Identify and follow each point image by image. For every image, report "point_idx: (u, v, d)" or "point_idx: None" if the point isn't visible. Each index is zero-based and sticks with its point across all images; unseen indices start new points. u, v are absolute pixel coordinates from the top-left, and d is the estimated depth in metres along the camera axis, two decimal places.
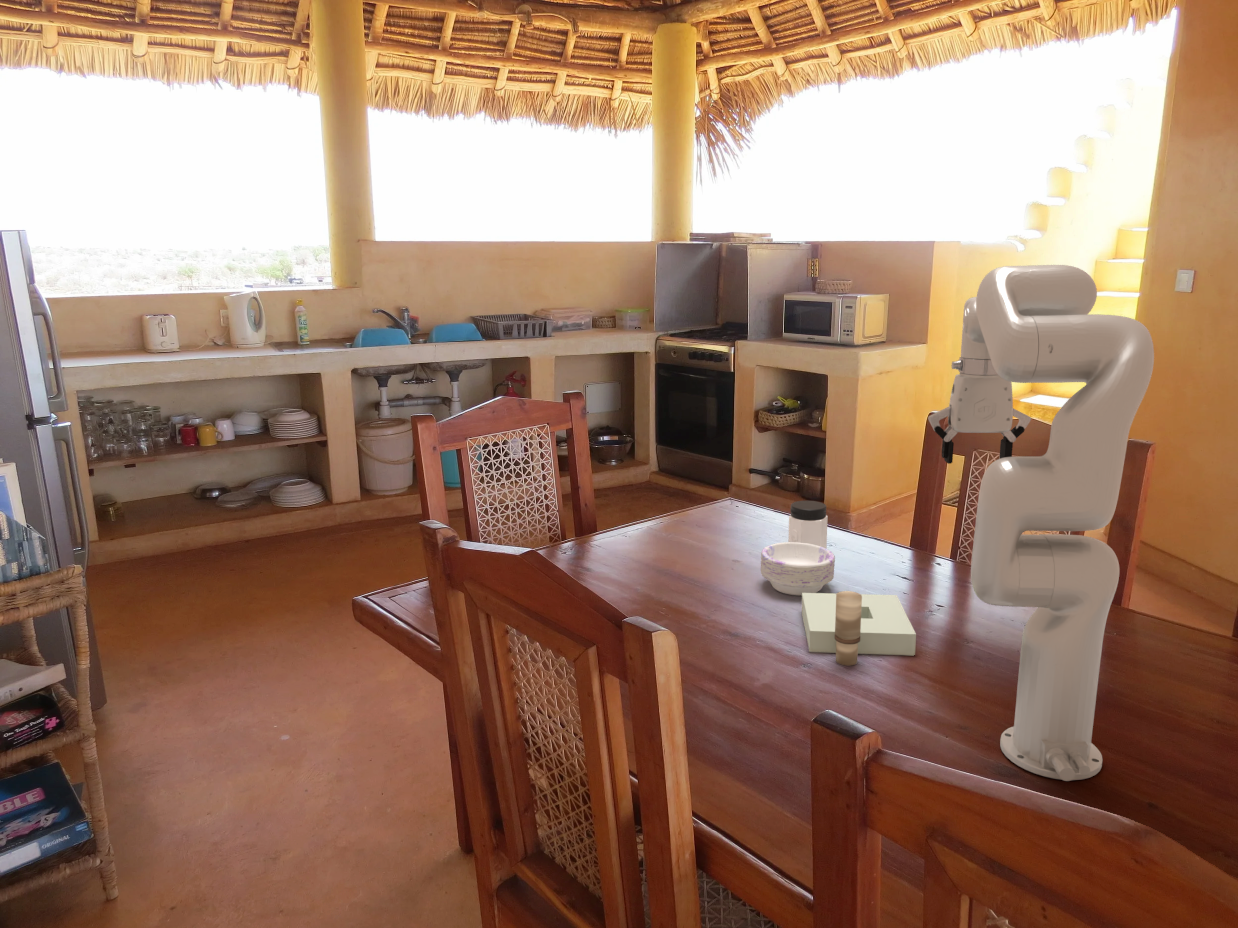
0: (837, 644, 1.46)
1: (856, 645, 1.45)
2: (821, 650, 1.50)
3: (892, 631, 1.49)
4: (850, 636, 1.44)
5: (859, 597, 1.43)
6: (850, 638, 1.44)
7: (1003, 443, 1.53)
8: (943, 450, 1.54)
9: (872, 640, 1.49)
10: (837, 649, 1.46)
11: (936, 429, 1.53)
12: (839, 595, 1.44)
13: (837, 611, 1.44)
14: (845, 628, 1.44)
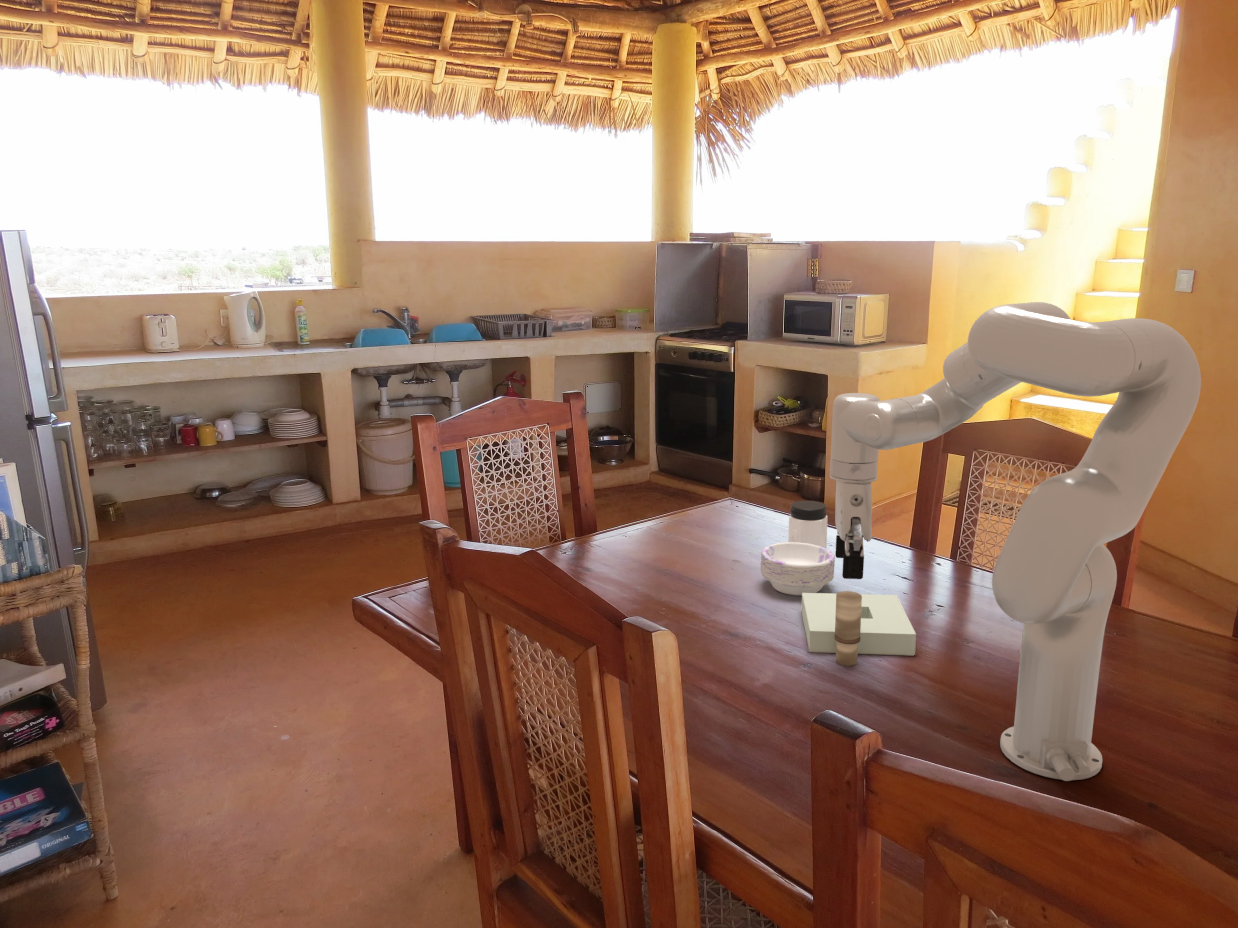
0: (837, 644, 1.46)
1: (856, 645, 1.45)
2: (821, 650, 1.50)
3: (892, 631, 1.49)
4: (850, 636, 1.44)
5: (859, 597, 1.43)
6: (850, 638, 1.44)
7: None
8: (855, 567, 1.37)
9: (872, 640, 1.49)
10: (837, 649, 1.46)
11: (862, 547, 1.35)
12: (839, 595, 1.44)
13: (837, 611, 1.44)
14: (845, 628, 1.44)
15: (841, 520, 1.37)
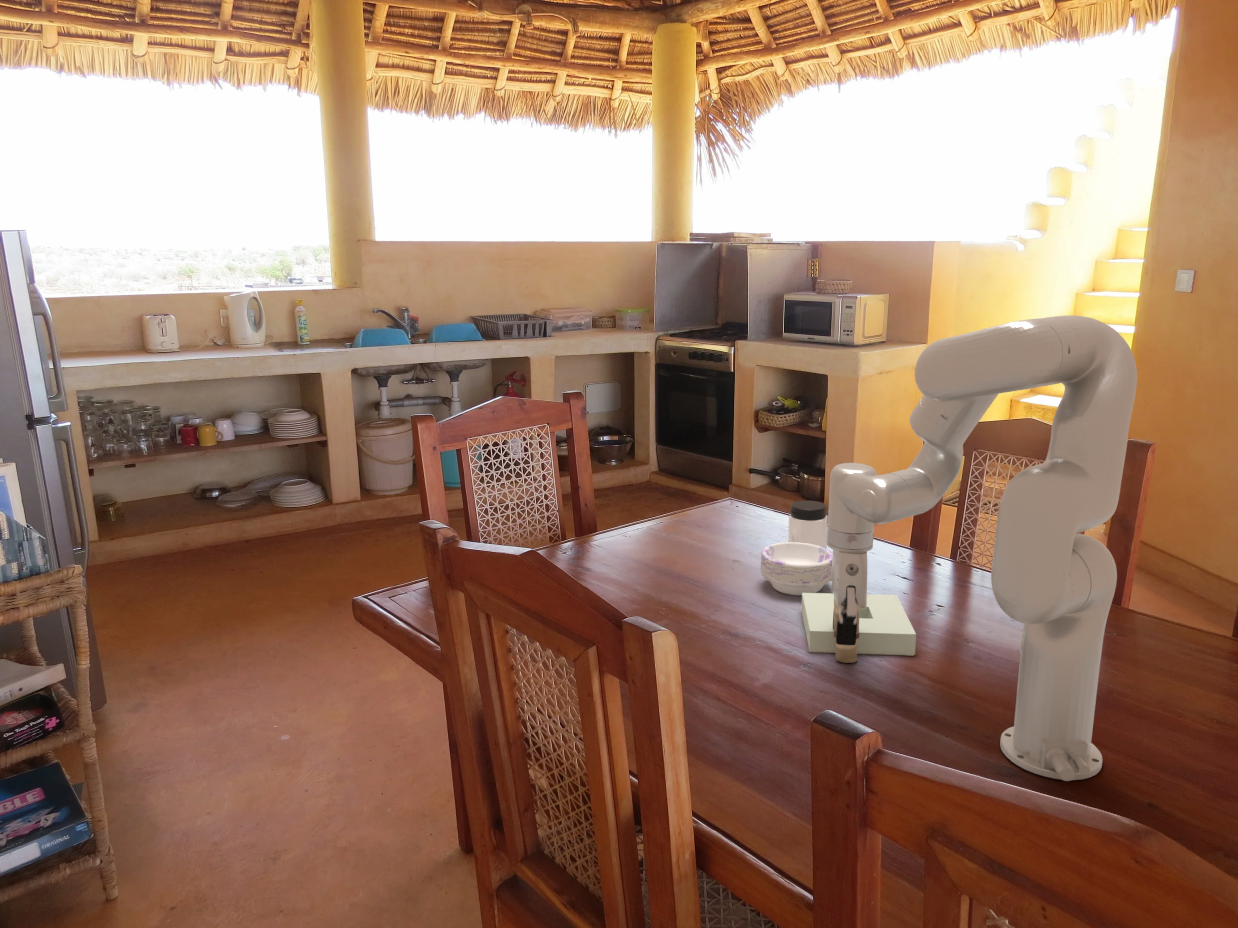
0: None
1: None
2: (821, 650, 1.50)
3: (892, 631, 1.49)
4: None
5: None
6: None
7: None
8: (848, 634, 1.43)
9: (872, 640, 1.49)
10: (836, 646, 1.46)
11: (855, 616, 1.40)
12: None
13: (835, 607, 1.46)
14: None
15: (837, 588, 1.41)
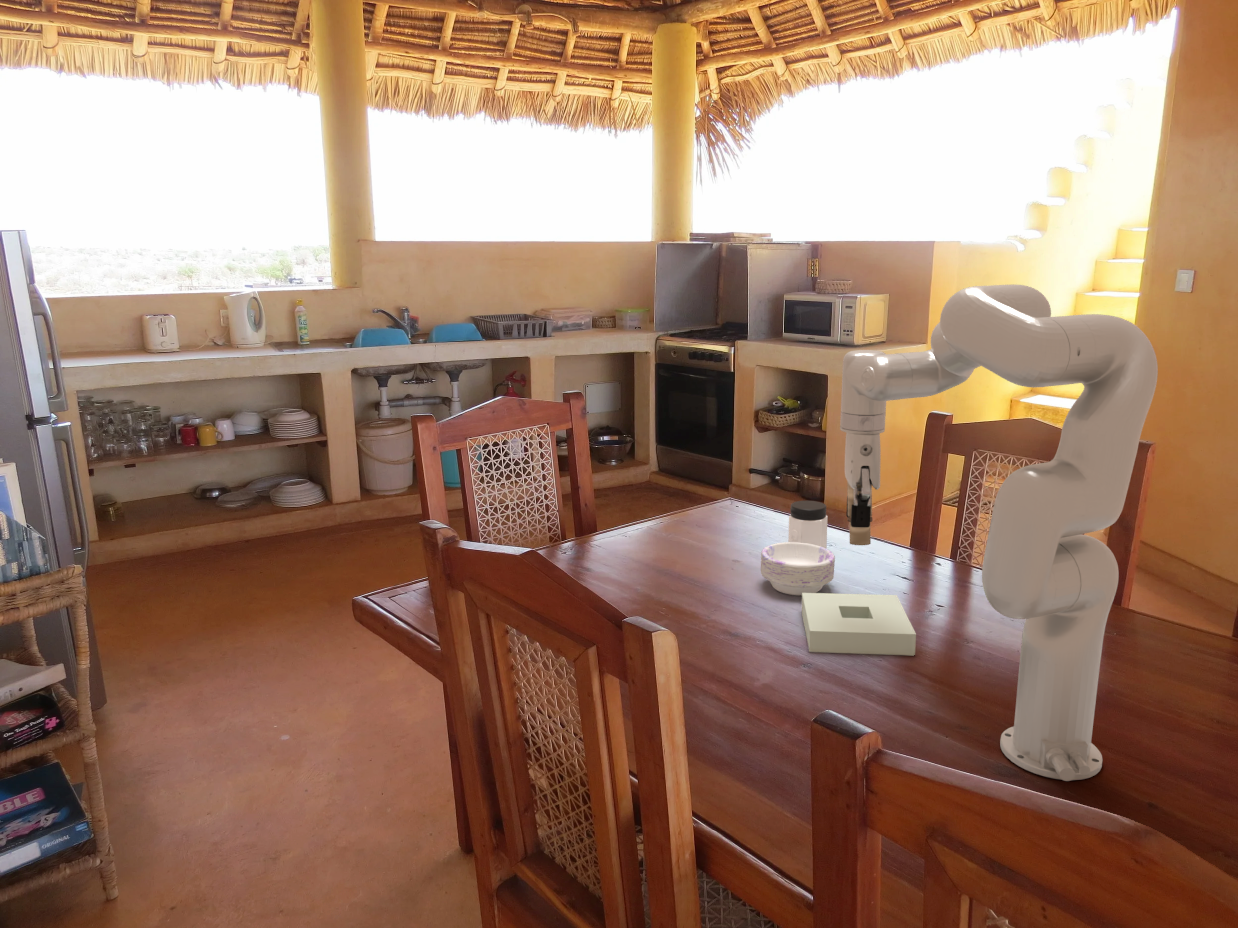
0: (850, 526, 1.52)
1: None
2: (821, 650, 1.50)
3: (892, 631, 1.49)
4: None
5: None
6: None
7: None
8: (863, 516, 1.48)
9: (872, 640, 1.49)
10: (850, 531, 1.52)
11: (869, 496, 1.46)
12: None
13: (849, 492, 1.51)
14: None
15: (851, 469, 1.46)
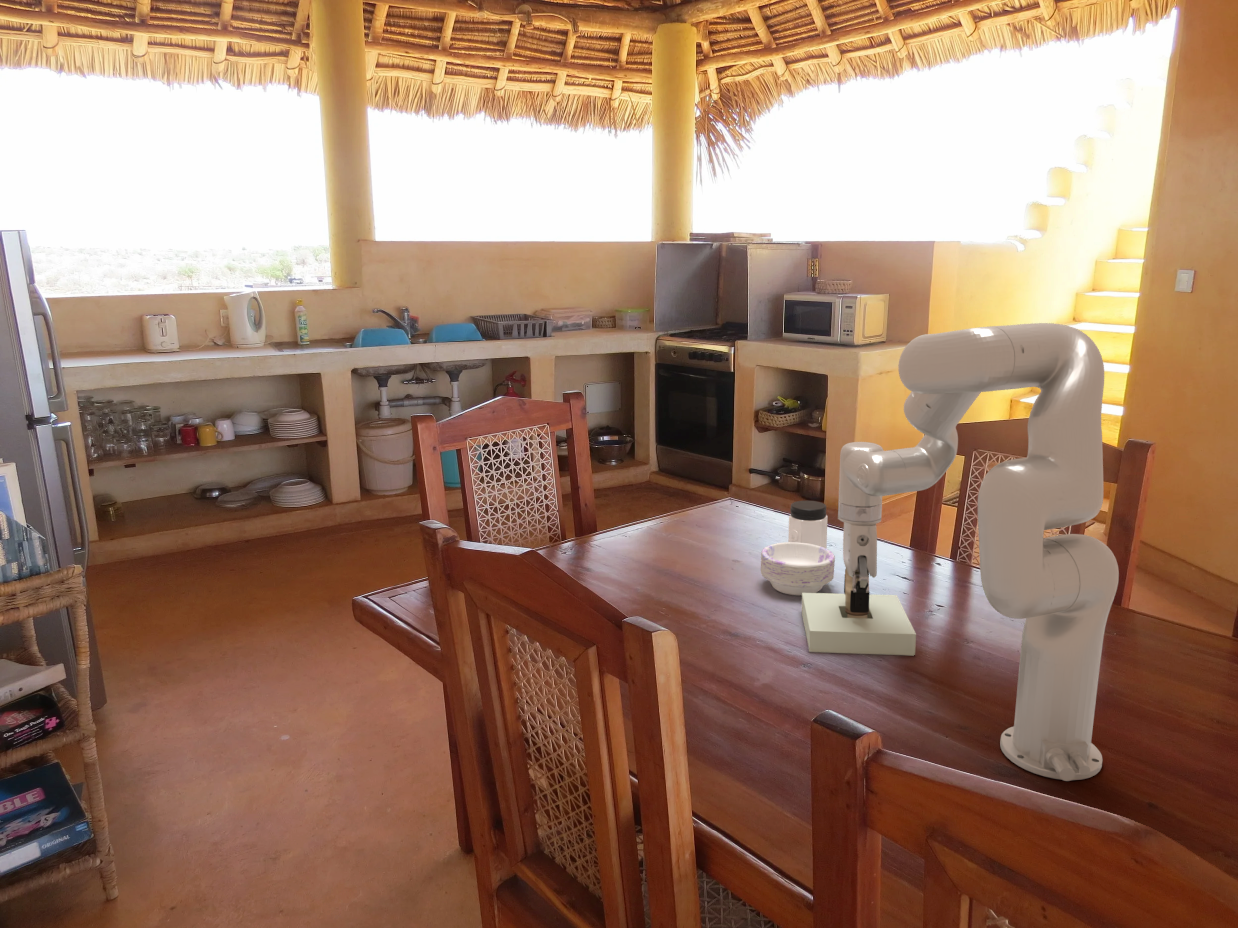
0: (848, 617, 1.57)
1: (866, 617, 1.56)
2: (821, 650, 1.50)
3: (892, 631, 1.49)
4: None
5: None
6: None
7: None
8: (861, 602, 1.51)
9: (872, 640, 1.49)
10: None
11: (867, 584, 1.49)
12: None
13: (846, 585, 1.56)
14: None
15: (849, 558, 1.51)
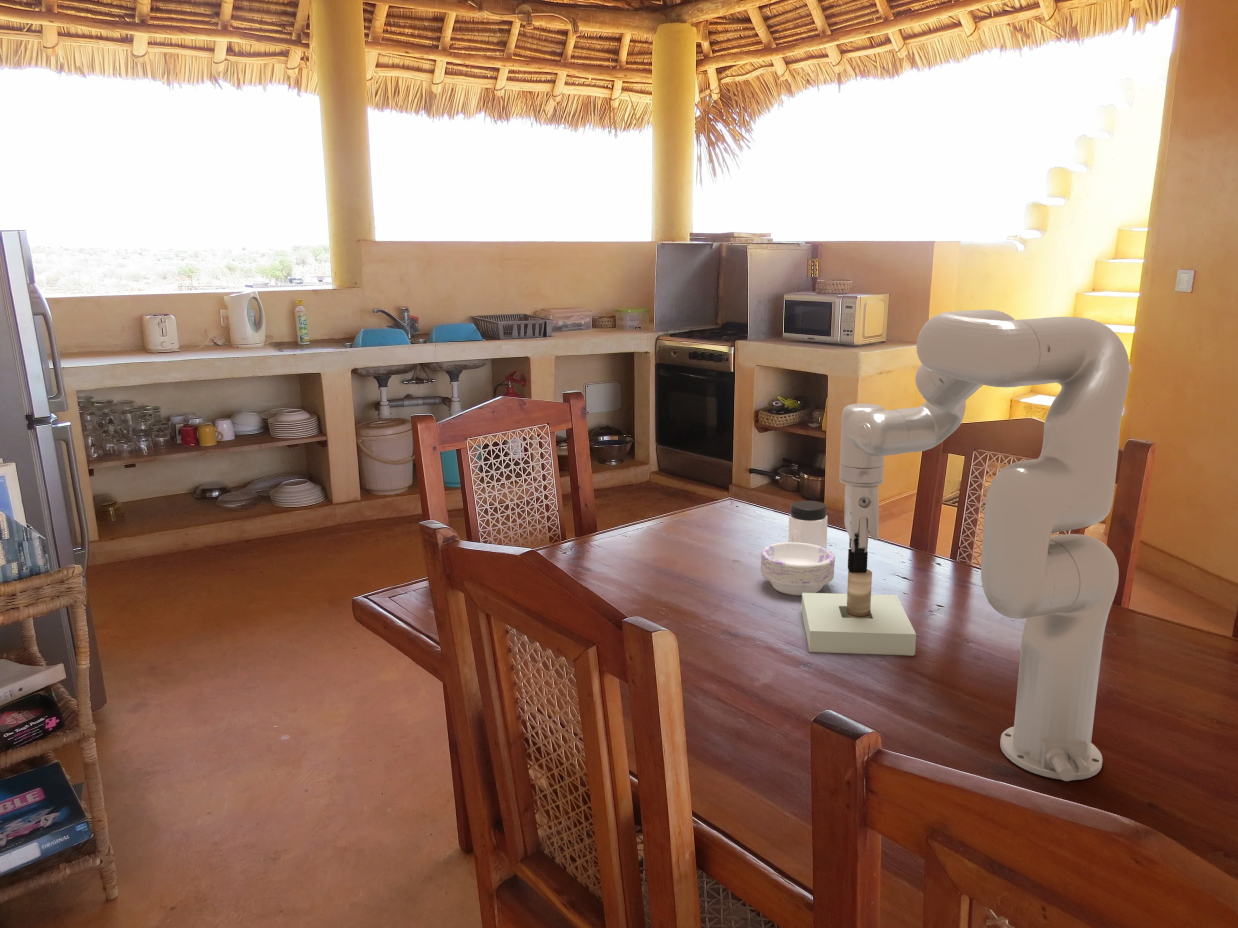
0: (849, 617, 1.57)
1: None
2: (821, 650, 1.50)
3: (892, 631, 1.49)
4: (861, 609, 1.55)
5: (869, 573, 1.54)
6: (861, 611, 1.55)
7: None
8: (860, 562, 1.54)
9: (872, 640, 1.49)
10: None
11: (865, 544, 1.51)
12: None
13: (849, 586, 1.55)
14: (857, 602, 1.54)
15: (850, 520, 1.49)
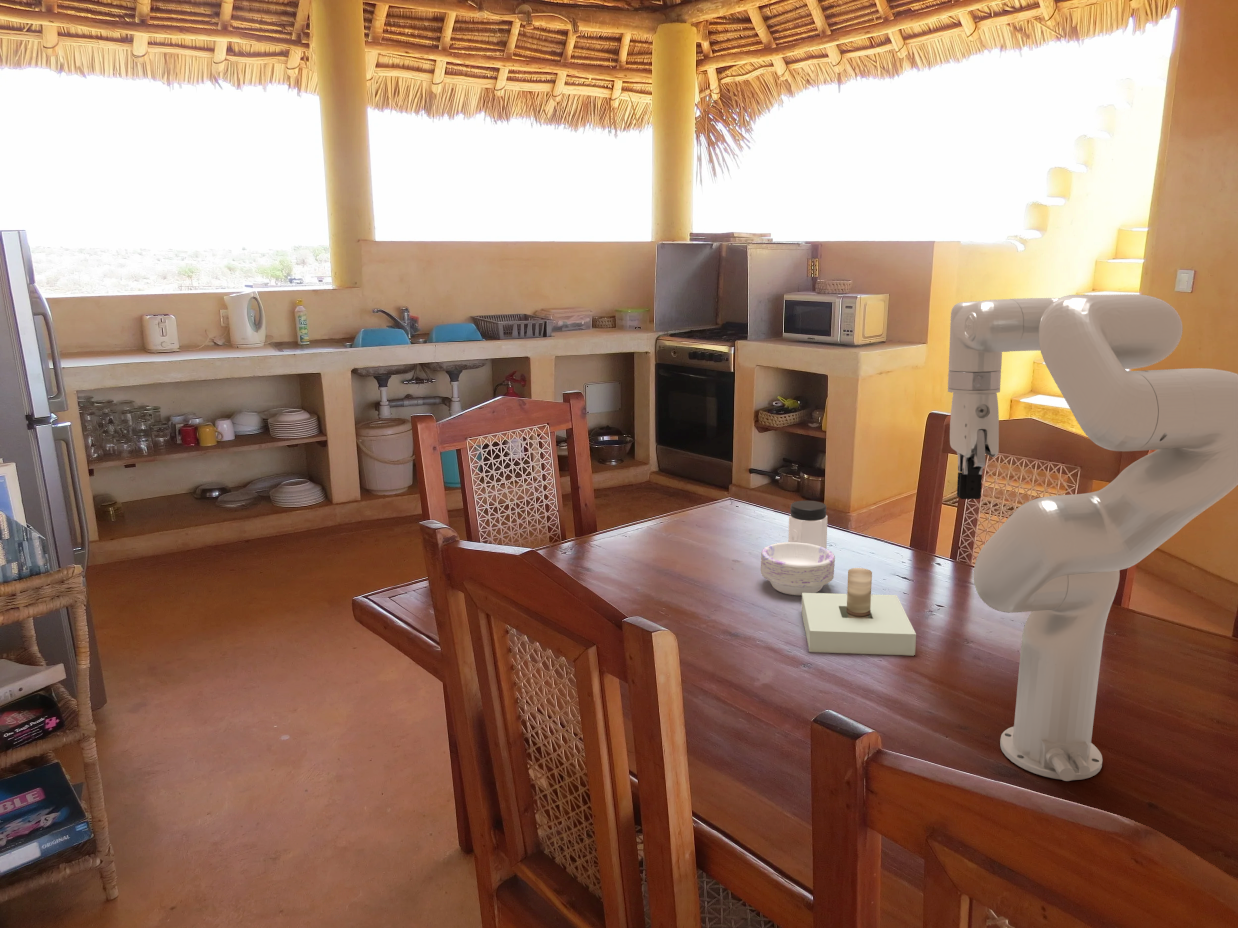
0: (849, 617, 1.57)
1: None
2: (821, 650, 1.50)
3: (892, 631, 1.49)
4: (861, 609, 1.55)
5: (869, 573, 1.54)
6: (861, 611, 1.55)
7: None
8: (973, 486, 1.33)
9: (872, 640, 1.49)
10: None
11: None
12: (851, 571, 1.55)
13: (849, 586, 1.55)
14: (856, 602, 1.54)
15: (965, 434, 1.29)
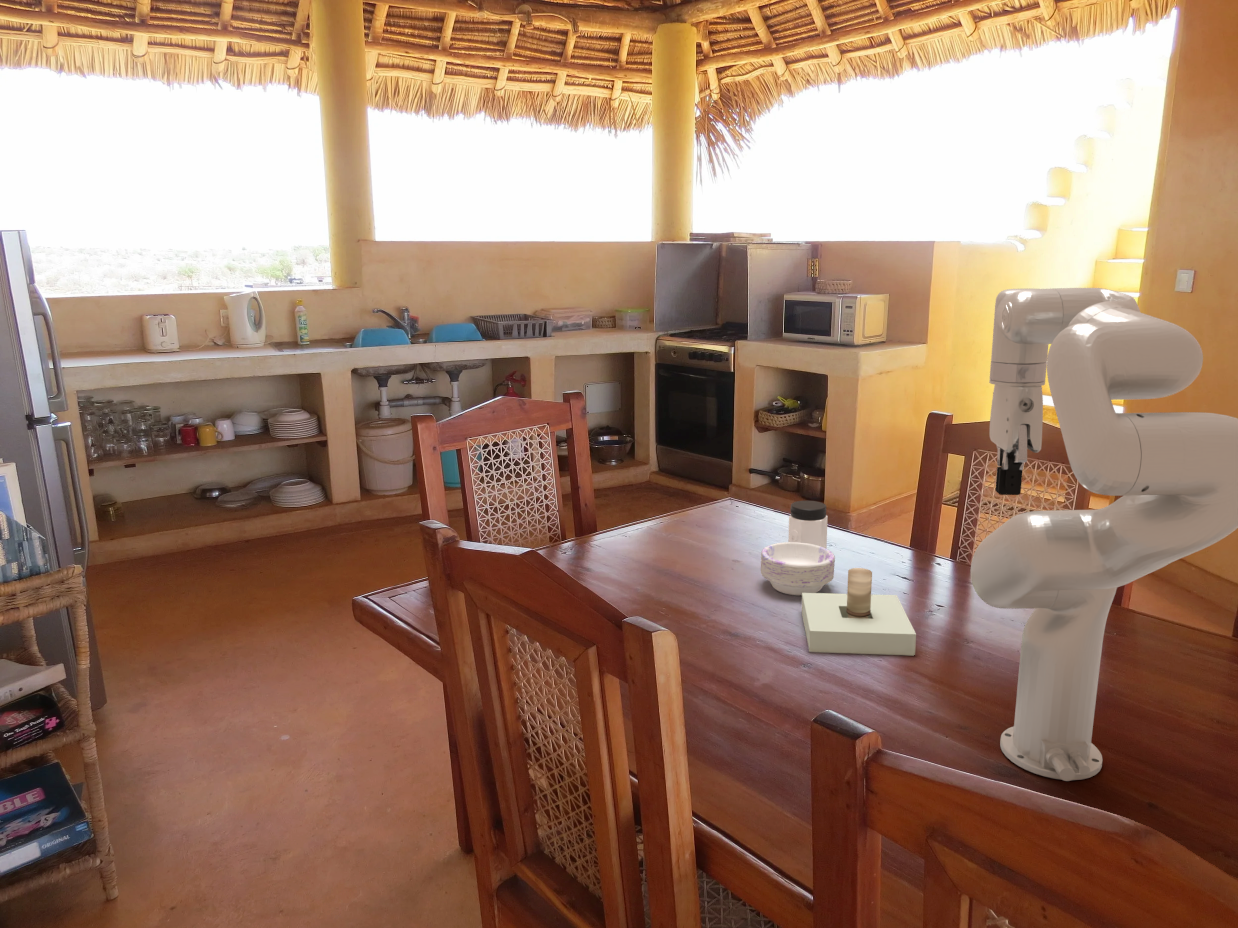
0: (849, 617, 1.57)
1: None
2: (821, 650, 1.50)
3: (892, 631, 1.49)
4: (861, 609, 1.55)
5: (869, 573, 1.54)
6: (861, 611, 1.55)
7: None
8: (1013, 481, 1.28)
9: (872, 640, 1.49)
10: None
11: None
12: (851, 571, 1.55)
13: (849, 586, 1.55)
14: (857, 602, 1.54)
15: (1007, 429, 1.24)
